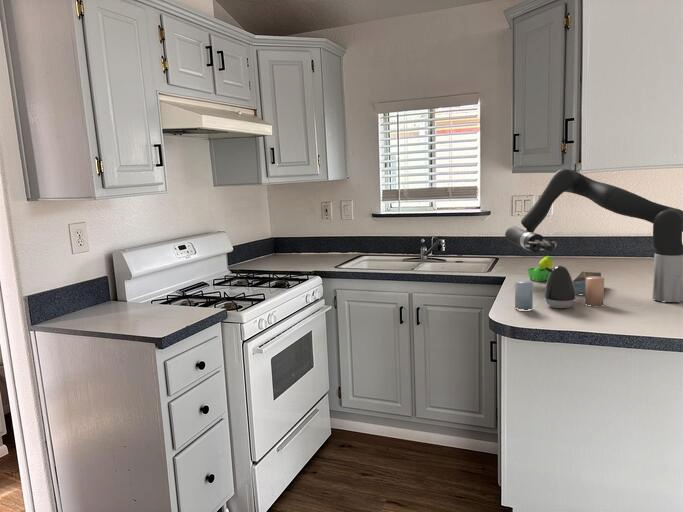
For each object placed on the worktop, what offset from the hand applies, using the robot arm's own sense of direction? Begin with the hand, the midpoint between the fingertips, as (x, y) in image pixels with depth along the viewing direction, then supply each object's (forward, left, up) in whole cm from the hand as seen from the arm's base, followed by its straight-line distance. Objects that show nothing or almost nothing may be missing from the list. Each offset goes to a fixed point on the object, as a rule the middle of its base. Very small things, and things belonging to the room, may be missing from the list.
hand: (550, 248), depth 197 cm
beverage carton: (-5, -22, -20) cm, 31 cm away
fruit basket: (+18, -32, -20) cm, 42 cm away
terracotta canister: (-16, -1, -20) cm, 26 cm away
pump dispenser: (-8, +9, -20) cm, 23 cm away
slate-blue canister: (+1, +19, -20) cm, 27 cm away
